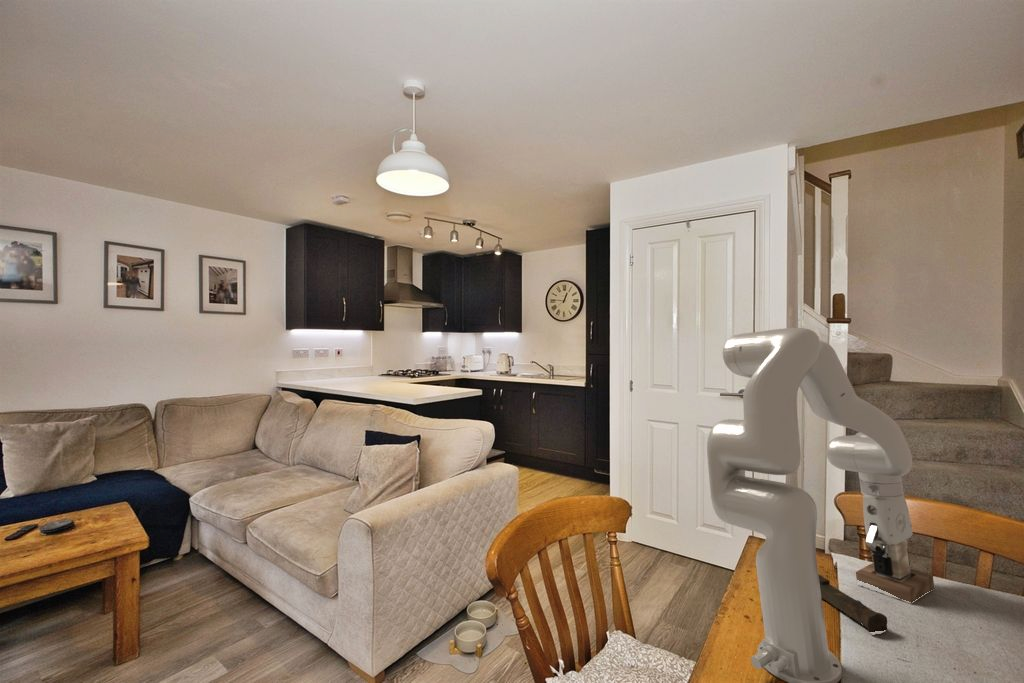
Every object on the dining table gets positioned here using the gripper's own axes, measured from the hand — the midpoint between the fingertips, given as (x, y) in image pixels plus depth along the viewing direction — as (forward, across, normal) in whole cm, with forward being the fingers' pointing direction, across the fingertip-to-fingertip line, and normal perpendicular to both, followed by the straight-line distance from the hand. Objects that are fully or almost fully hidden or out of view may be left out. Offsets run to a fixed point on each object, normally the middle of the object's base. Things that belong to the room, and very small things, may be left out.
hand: (892, 568), depth 101 cm
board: (+4, 0, 0) cm, 4 cm away
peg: (+4, 0, 0) cm, 4 cm away
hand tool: (+5, -18, +2) cm, 18 cm away
